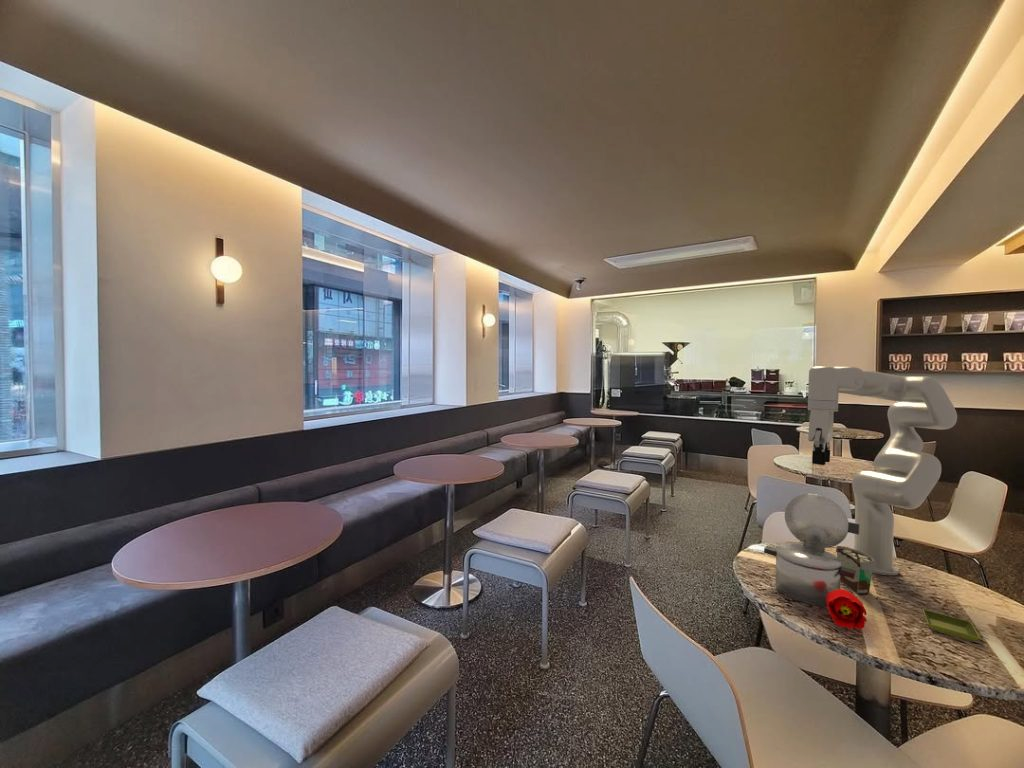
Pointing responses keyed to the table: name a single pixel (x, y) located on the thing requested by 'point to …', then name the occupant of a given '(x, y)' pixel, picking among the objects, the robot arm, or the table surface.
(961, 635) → the green shallow tray
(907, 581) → the table surface
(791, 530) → the cooker lid
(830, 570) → the cooker pot
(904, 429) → the robot arm
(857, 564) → the food container
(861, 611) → the flower
